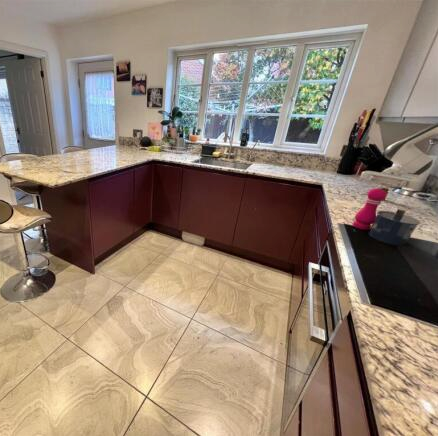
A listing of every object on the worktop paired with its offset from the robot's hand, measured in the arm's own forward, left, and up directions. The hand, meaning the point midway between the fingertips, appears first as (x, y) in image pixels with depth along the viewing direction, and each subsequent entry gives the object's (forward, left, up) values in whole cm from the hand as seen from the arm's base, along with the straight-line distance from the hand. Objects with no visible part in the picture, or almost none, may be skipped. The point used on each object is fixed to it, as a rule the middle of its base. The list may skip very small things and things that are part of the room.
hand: (385, 181), depth 106 cm
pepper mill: (-9, +8, -20) cm, 23 cm away
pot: (-19, +4, -20) cm, 28 cm away
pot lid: (-19, +4, -10) cm, 22 cm away
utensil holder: (+43, -31, -20) cm, 56 cm away
